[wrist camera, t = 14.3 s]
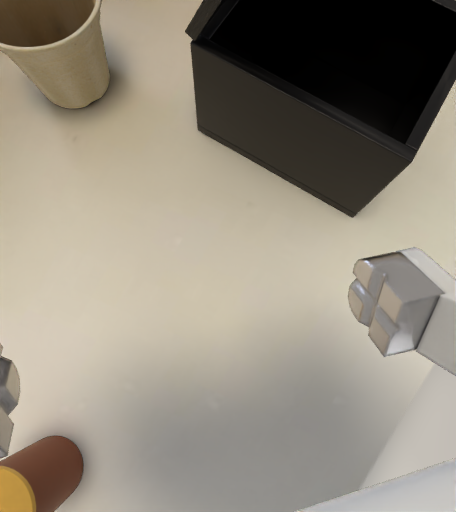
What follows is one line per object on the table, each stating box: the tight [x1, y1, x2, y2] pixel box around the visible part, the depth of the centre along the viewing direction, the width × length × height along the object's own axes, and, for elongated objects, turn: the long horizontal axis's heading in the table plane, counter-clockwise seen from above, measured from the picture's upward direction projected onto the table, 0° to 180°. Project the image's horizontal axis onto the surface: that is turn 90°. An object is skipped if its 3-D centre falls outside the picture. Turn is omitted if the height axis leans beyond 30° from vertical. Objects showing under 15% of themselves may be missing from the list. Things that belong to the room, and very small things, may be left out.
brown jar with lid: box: [0, 436, 83, 512], centre depth 23 cm, size 5×5×8 cm
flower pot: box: [0, 0, 110, 108], centre depth 30 cm, size 9×9×9 cm
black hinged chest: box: [191, 0, 456, 217], centre depth 29 cm, size 16×13×10 cm
